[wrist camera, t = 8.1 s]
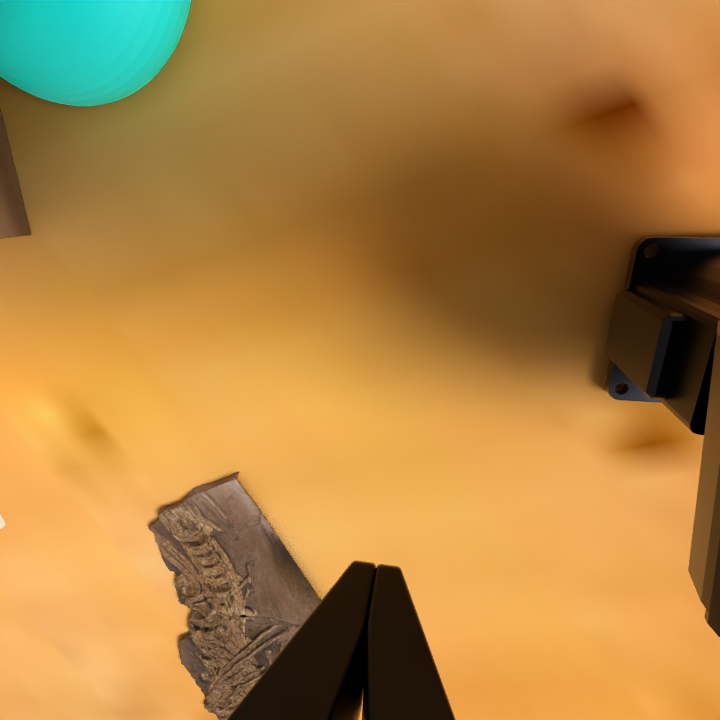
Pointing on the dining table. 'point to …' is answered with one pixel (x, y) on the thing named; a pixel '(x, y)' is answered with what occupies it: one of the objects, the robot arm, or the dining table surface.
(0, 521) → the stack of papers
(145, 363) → the dining table surface
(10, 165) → the bar
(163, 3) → the donuts
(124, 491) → the dining table surface
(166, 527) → the wooden fragment
